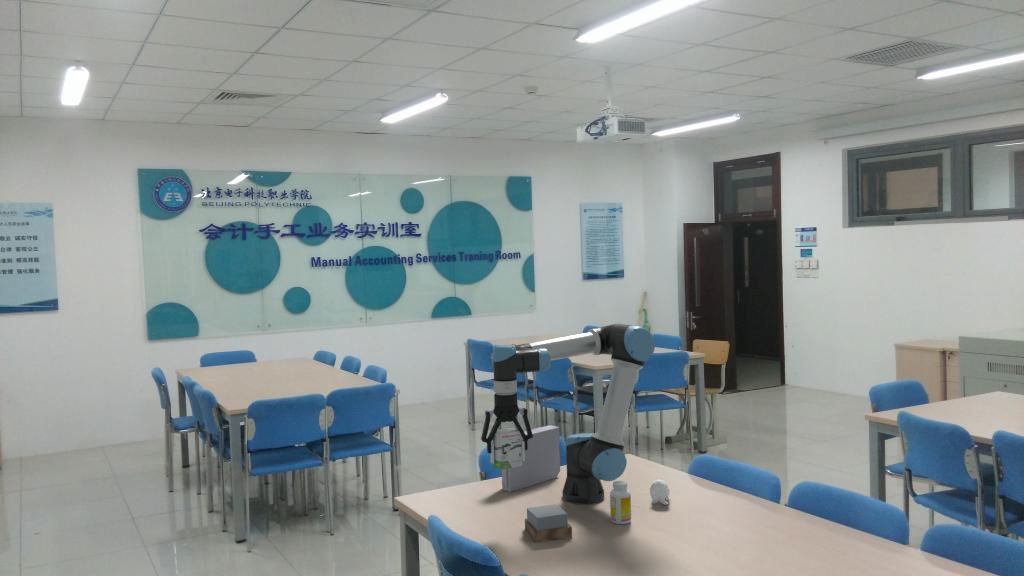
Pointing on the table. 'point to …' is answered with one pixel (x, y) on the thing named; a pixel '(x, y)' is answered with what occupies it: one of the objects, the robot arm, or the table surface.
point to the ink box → (507, 448)
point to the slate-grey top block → (547, 517)
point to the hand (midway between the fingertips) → (507, 461)
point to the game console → (536, 460)
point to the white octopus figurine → (659, 492)
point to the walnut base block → (548, 533)
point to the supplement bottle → (620, 503)
